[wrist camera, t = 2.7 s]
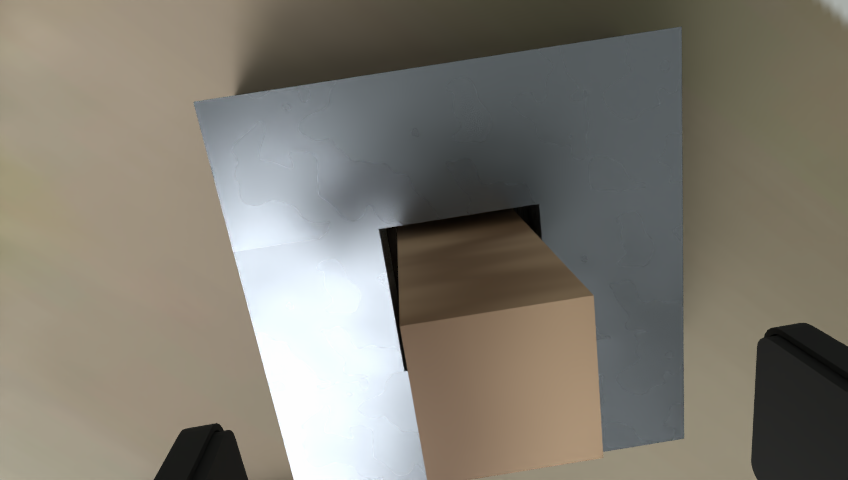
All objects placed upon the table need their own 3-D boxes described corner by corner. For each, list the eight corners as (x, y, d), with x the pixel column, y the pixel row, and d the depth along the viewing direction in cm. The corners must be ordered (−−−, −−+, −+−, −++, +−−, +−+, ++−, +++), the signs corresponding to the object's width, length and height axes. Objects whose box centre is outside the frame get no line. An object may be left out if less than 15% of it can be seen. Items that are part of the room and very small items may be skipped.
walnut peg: (499, 195, 20) (593, 295, 11) (509, 291, 22) (603, 458, 12) (396, 211, 20) (399, 326, 11) (412, 306, 22) (428, 486, 12)
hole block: (623, 37, 19) (681, 26, 15) (635, 379, 23) (683, 438, 19) (233, 97, 19) (193, 101, 15) (315, 431, 23) (299, 501, 19)
